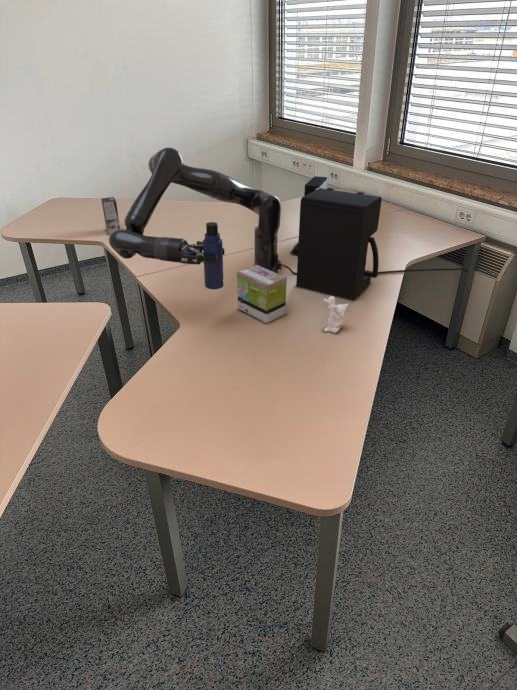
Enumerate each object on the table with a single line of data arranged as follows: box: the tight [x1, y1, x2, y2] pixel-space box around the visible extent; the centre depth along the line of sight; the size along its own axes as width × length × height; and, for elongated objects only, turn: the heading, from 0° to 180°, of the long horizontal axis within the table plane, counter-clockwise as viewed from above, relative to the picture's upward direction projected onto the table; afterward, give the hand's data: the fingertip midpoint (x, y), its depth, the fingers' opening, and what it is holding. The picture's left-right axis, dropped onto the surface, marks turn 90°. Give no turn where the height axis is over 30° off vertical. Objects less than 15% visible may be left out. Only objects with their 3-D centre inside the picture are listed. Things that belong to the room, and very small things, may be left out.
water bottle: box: [202, 221, 225, 290], centre depth 150 cm, size 6×6×20 cm
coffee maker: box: [295, 187, 383, 301], centre depth 183 cm, size 28×20×35 cm
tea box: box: [236, 265, 288, 324], centre depth 169 cm, size 15×10×15 cm
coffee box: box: [100, 196, 121, 235], centre depth 244 cm, size 9×6×16 cm
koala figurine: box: [323, 295, 350, 334], centre depth 159 cm, size 8×7×12 cm
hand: (220, 255), depth 150 cm, fingers closed on water bottle, 6 cm apart
